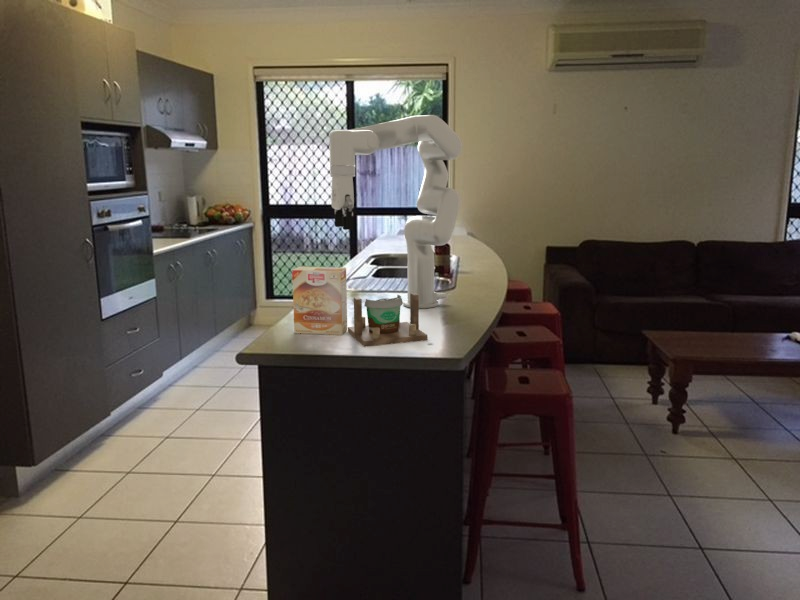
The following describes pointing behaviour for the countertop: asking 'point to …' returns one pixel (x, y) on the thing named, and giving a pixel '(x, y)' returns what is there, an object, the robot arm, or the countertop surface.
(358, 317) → the peg stand
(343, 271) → the coffeecake box
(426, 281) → the robot arm
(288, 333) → the countertop surface
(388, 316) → the food container
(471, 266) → the countertop surface
